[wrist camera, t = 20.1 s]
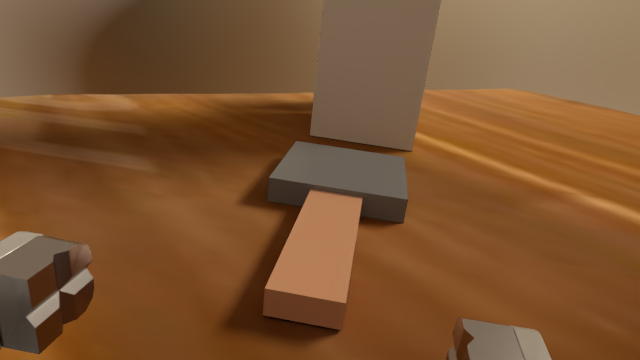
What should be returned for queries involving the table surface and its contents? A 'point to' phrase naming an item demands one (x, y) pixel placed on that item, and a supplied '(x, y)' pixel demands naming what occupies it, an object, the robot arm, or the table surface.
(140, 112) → the table surface
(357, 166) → the toy hammer
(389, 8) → the tall grey box
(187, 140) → the table surface
